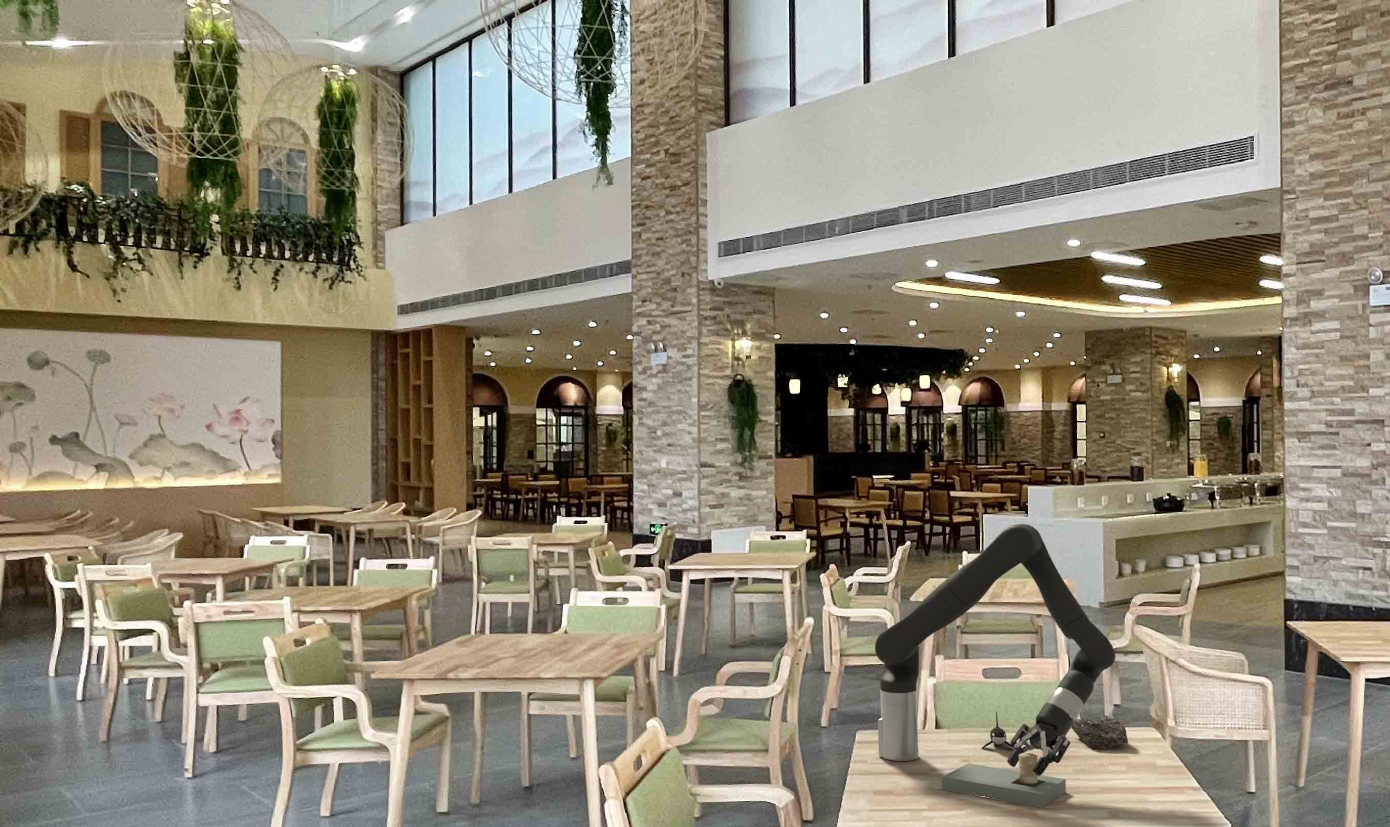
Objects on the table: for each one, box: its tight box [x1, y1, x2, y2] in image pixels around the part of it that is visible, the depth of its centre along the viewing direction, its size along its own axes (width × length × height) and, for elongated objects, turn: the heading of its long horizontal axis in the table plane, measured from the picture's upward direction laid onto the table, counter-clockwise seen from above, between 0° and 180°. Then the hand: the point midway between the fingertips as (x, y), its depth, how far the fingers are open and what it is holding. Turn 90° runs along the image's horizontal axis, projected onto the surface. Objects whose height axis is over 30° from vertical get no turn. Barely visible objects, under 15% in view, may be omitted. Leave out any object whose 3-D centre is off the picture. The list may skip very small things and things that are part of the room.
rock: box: [1071, 714, 1129, 750], centre depth 315 cm, size 12×16×6 cm
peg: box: [1018, 752, 1039, 787], centre depth 270 cm, size 4×4×9 cm
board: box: [941, 762, 1067, 809], centre depth 274 cm, size 24×14×3 cm, turn 51°
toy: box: [981, 711, 1014, 749], centre depth 317 cm, size 21×10×10 cm, turn 169°
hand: (1023, 769), depth 270 cm, fingers open, 8 cm apart
